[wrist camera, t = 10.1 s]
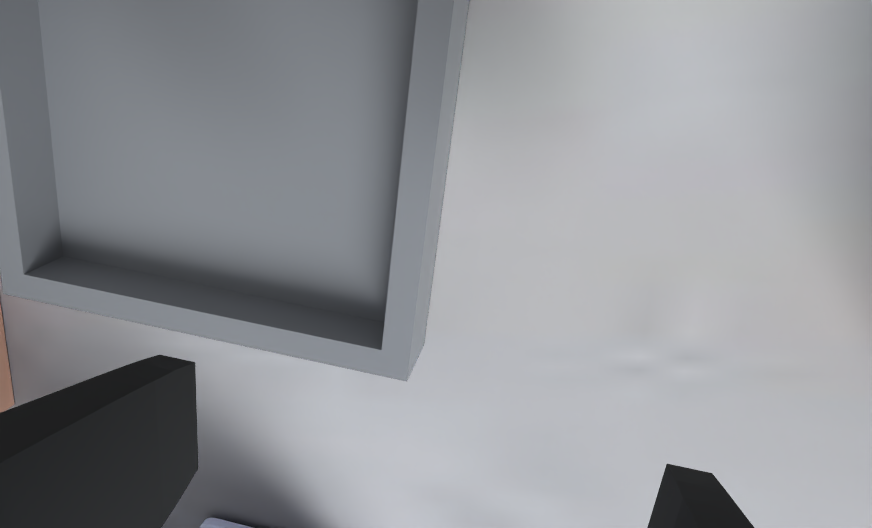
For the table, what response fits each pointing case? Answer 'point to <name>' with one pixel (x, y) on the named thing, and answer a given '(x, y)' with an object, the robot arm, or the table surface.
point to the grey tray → (232, 167)
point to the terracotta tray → (4, 373)
